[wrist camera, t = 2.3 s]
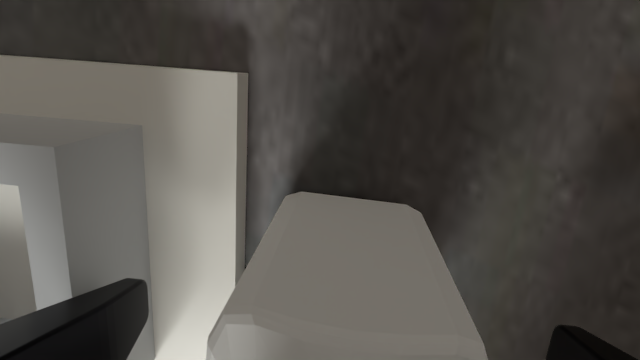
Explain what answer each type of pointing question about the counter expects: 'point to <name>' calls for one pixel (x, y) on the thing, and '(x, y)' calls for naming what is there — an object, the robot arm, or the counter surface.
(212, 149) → the outlet plate
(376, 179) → the counter surface
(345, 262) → the pepper shaker
